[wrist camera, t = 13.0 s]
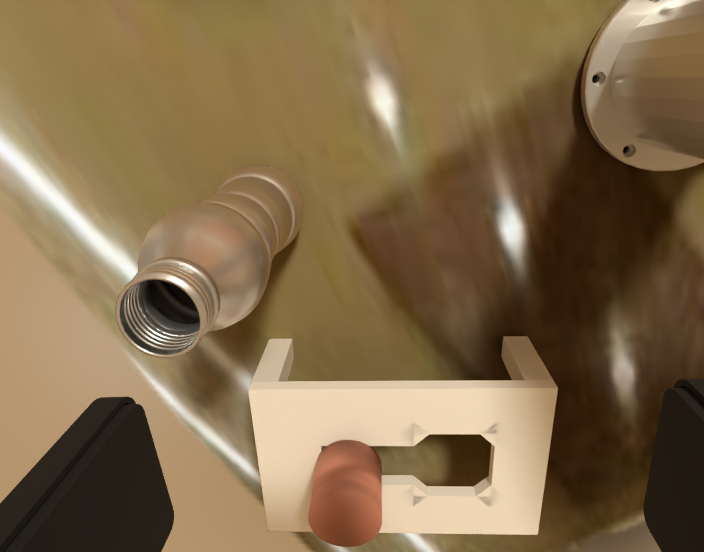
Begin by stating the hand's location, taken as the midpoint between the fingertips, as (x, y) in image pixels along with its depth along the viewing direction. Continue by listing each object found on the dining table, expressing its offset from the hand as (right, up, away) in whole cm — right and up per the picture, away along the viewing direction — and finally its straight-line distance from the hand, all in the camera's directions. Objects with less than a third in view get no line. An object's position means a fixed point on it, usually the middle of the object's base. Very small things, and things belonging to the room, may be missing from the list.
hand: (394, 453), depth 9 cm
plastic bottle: (-7, +9, +29) cm, 31 cm away
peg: (-1, -9, +34) cm, 35 cm away
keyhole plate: (+3, -9, +35) cm, 36 cm away
